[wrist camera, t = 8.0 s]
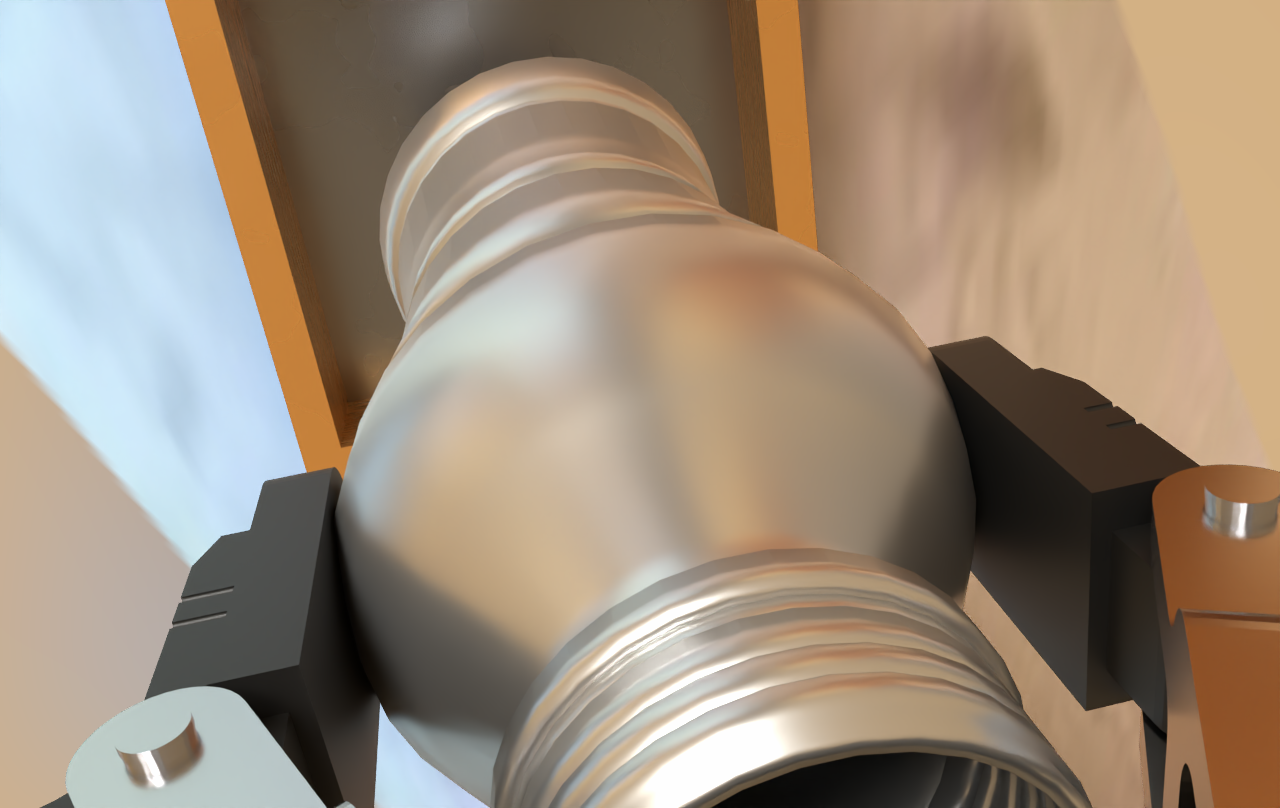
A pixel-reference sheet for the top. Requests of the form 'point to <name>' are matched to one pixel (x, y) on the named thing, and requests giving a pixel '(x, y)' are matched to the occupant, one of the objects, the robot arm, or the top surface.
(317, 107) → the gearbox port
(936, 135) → the top surface
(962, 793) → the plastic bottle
